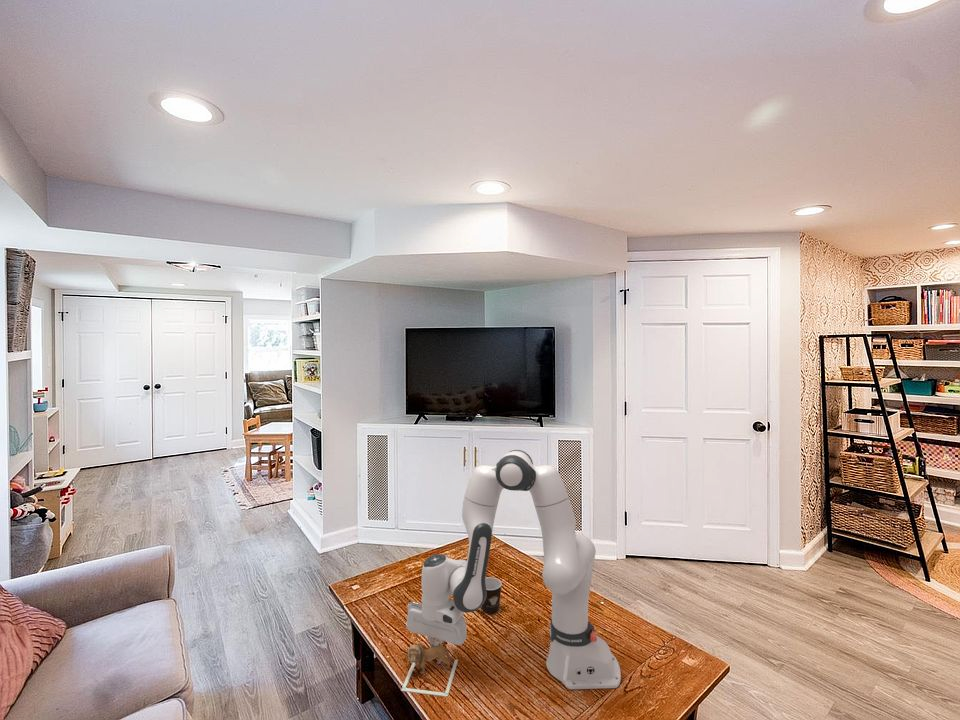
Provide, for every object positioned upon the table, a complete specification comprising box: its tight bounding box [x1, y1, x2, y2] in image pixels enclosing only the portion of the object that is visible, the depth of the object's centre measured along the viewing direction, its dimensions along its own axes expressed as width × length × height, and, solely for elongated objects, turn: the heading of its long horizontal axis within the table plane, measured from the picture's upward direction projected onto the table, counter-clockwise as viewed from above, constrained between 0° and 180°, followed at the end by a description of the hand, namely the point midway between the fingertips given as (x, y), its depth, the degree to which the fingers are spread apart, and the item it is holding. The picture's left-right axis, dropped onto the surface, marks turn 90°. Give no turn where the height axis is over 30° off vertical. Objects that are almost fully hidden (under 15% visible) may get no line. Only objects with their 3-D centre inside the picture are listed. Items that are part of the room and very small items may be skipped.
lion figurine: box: [407, 643, 455, 675], centre depth 140 cm, size 15×5×9 cm, turn 112°
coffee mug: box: [481, 576, 502, 615], centre depth 170 cm, size 12×9×10 cm
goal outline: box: [400, 659, 459, 697], centre depth 138 cm, size 14×14×1 cm
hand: (436, 649), depth 144 cm, fingers closed
